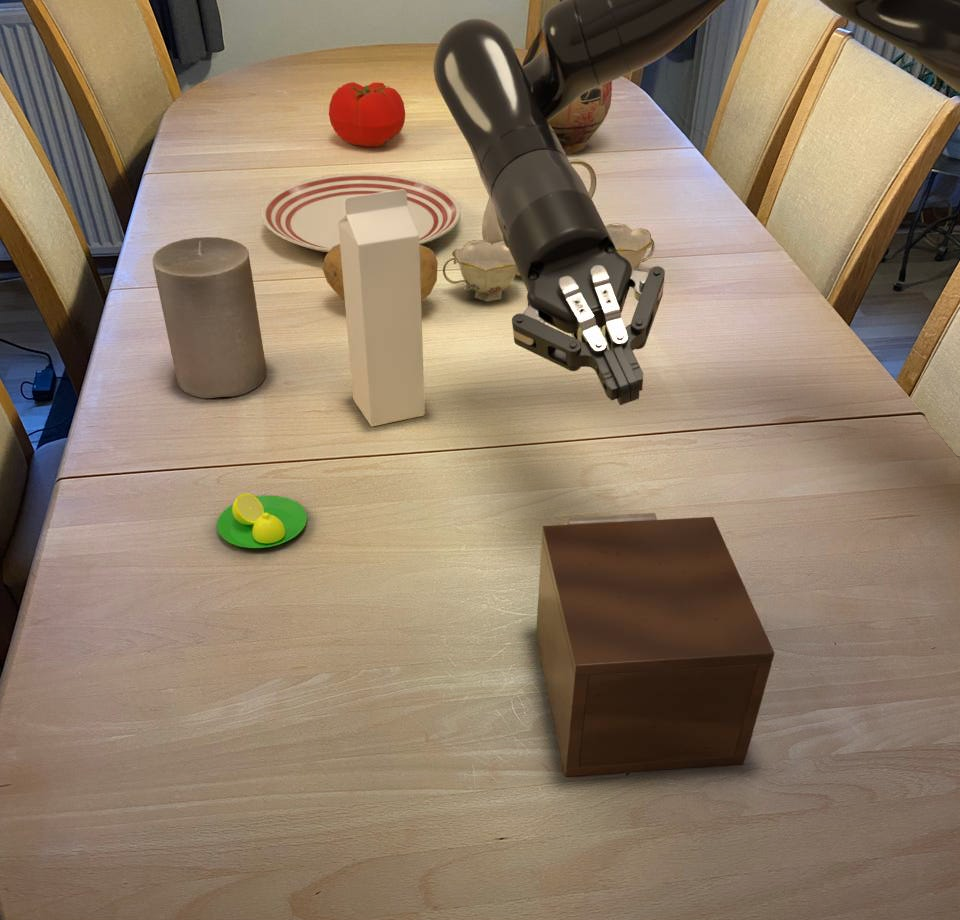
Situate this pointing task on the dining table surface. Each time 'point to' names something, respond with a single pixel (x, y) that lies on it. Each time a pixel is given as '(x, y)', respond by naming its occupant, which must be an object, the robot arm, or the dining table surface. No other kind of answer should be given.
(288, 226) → the dinner plate
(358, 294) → the milk
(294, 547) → the dining table surface
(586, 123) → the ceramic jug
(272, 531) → the lemon halves on plate
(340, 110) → the tomato
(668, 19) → the robot arm
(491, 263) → the chinaware
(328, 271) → the potato
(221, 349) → the pillar candle
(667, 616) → the cabinet
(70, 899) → the dining table surface
